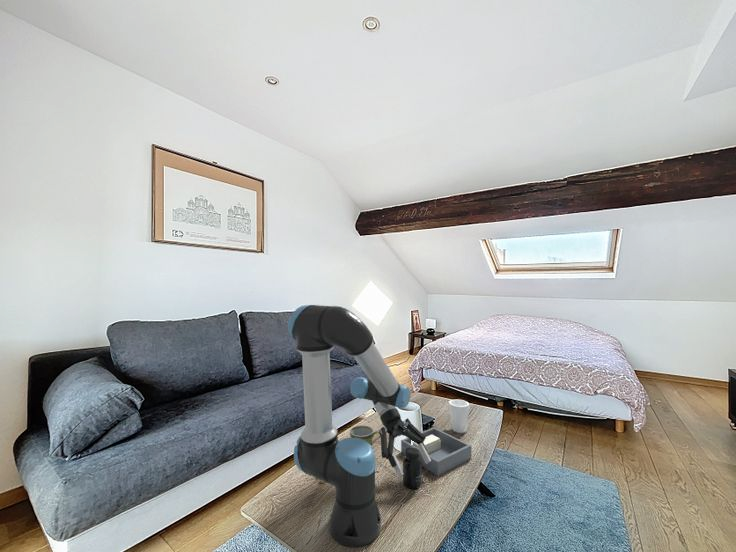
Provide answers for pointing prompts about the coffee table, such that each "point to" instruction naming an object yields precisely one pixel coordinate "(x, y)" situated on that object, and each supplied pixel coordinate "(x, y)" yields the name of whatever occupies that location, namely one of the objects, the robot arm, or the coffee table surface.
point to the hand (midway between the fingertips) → (415, 469)
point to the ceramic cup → (363, 433)
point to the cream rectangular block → (431, 443)
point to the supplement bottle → (412, 469)
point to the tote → (442, 452)
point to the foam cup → (459, 415)
